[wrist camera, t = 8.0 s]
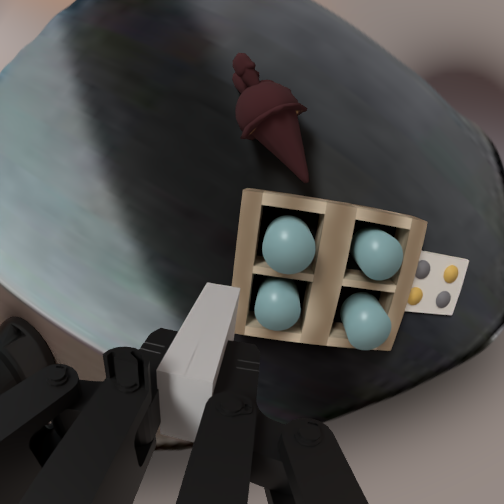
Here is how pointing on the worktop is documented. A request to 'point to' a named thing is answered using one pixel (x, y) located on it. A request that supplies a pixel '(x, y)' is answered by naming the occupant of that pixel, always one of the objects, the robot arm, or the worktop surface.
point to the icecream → (269, 115)
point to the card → (436, 283)
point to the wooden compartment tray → (323, 267)
